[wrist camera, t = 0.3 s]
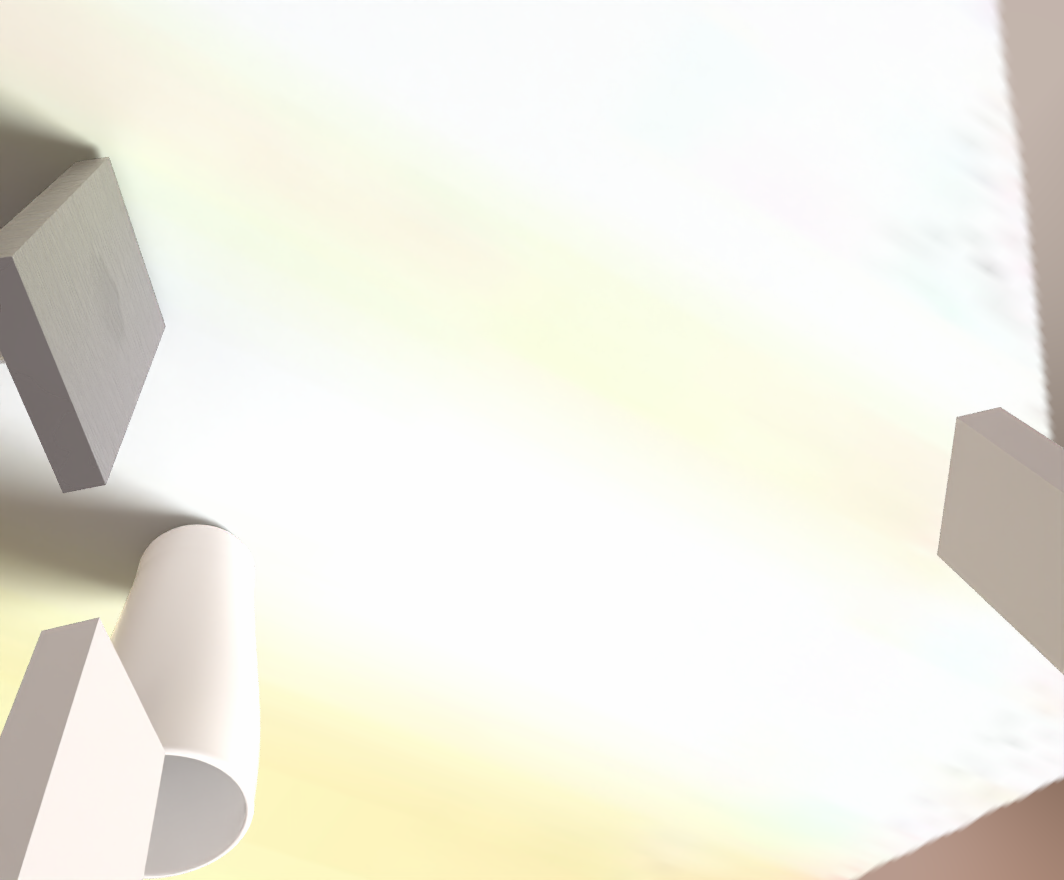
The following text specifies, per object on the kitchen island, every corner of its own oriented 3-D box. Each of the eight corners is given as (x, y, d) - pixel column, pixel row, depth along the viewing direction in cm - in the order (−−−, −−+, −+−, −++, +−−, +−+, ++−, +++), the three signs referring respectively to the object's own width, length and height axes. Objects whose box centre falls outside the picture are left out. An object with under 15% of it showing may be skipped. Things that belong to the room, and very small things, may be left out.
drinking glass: (212, 638, 46) (175, 904, 33) (94, 573, 42) (3, 841, 30) (299, 554, 44) (296, 796, 32) (184, 480, 41) (130, 718, 28)
